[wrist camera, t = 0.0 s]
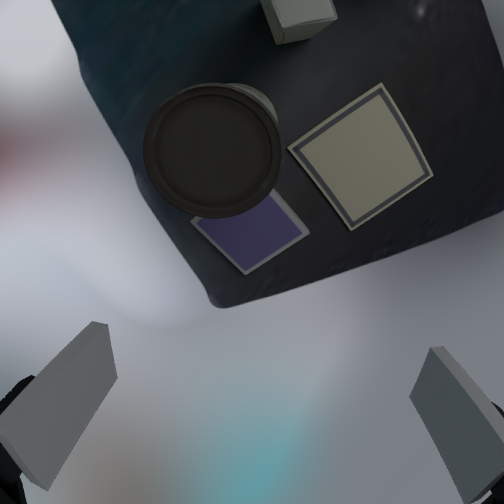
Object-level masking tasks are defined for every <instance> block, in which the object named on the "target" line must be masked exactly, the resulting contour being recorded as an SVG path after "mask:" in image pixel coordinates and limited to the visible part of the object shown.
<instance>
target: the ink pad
mask: <svg viewBox="0 0 504 504" xmlns="http://www.w3.org/2000/svg"><path fill="white" fill-rule="evenodd" d="M190 222H191V223H192V224H193V225H194V226H195V227H196V228H197V229H198V230H199V231H200V232H201V233H202V234H203V235H204V236H205V237H206V238H207V239H208V240H209V241H210V242H211V243H212V244H213V245H214V246H215V247H216V248H218V249H219V250H220V251H221V252H222V253H223V254H224V255H225V256H226V257H227V258H228V259H229V260H230V261H231V262H232V263H233V264H234V265H235V266H236V267H237V268H238V269H239V270H241V271H242V272H243V273H244V274H245V275H247V274H248V273H250V272H251V271H253V270H254V269H256V268H257V267H259V266H261V265H262V264H264V263H265V262H267V261H268V260H270V259H271V258H273V257H274V256H276V255H277V254H279V253H280V252H282V251H284V250H285V249H287V248H288V247H290V246H291V245H293V244H294V243H296V242H297V241H299V240H300V239H302V238H303V237H305V236H306V235H308V234H309V229H308V228H307V227H306V226H305V225H304V223H303V222H302V221H301V220H300V219H299V217H298V216H297V215H296V214H295V213H294V211H293V210H292V209H291V208H290V207H289V205H288V204H287V203H286V202H285V201H284V200H283V198H282V197H281V196H280V195H279V194H278V193H277V191H276V190H275V189H274V188H273V189H272V191H271V192H270V194H269V195H268V196H267V197H266V198H265V199H264V200H263V201H262V202H261V203H259V204H258V205H257V206H255V207H254V208H252V209H250V210H248V211H247V212H244V213H242V214H239V215H236V216H233V217H227V218H220V219H219V218H218V219H209V218H201V217H197V216H194V217H193V218H192V219H191V221H190Z"/></svg>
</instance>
